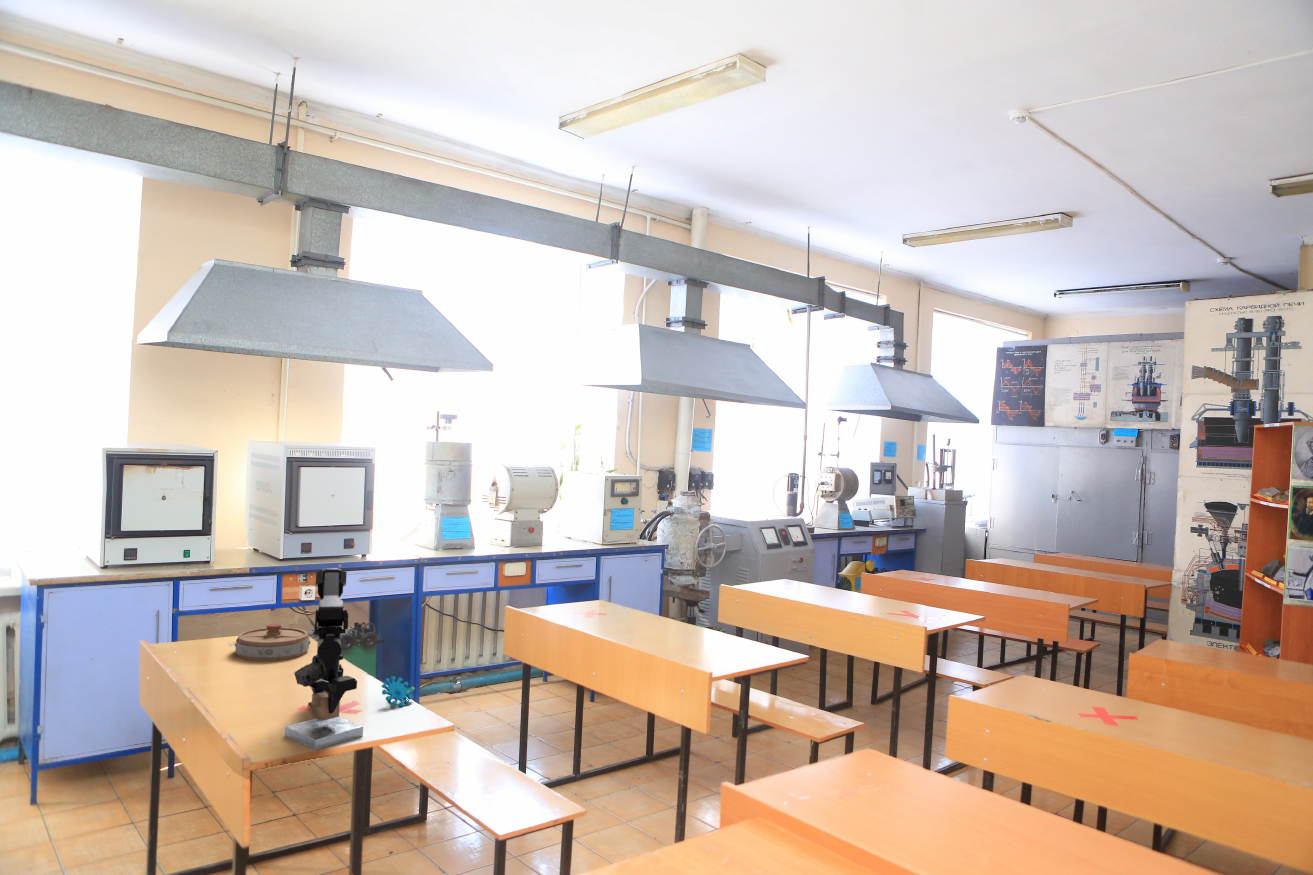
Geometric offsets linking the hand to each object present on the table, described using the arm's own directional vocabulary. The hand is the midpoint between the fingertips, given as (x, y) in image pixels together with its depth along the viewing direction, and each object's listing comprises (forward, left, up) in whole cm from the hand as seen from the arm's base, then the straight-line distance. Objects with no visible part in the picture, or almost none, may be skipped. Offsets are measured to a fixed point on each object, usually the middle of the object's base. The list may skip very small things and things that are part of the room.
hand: (325, 710), depth 224 cm
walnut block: (0, 0, -2) cm, 2 cm away
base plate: (0, 0, -7) cm, 7 cm away
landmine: (-85, +34, -7) cm, 92 cm away
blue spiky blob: (-9, +30, -7) cm, 32 cm away
